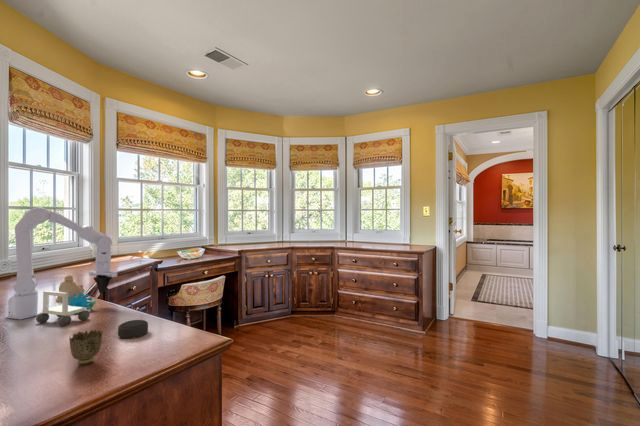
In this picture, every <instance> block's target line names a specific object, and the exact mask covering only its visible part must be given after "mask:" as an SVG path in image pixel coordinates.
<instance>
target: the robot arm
mask: <svg viewBox="0 0 640 426" xmlns="http://www.w3.org/2000/svg"><path fill="white" fill-rule="evenodd" d="M47 221H48V223H57V224H59V225H61V226H64V227H66V228H67V229H69V230H71V231H74V232H76V233H77V237H79V238H81V239H82V240H84V241H86V242H88V243H91V244H93V245H94V244H95V246H96V251H95V270H89V271H88V276H95V277H93V280H94V281H95V284H96V286H97V289H98V293H101V294H102V293H106V292H107V289H108V286H109V283H110V281H111V280H112V278H116V277H118V271H117V272H116V271H113V270H112V269H111V267H112V266H111V264H112V263H111V261H112V251H111V249H112V247H111V246H112V244H113V241H112V238H111V237H110V236H108V235H107V234H105V233H104V232H102V231H101V232H100V231H98V229H97V230H96V229H94V226H92V225H90V226H89V225H80V224H78V223H77V222H75V221H73V220H71V219H70V218H67V217H65V216H64V215H63V214H60V213H58V212H56V211H52V210H50V209H47V208H46V207H42V206H36V207H33V208H31V209H29V210H27V211H26V212H25V213H24V214H23V216H22V217H21V218H20V219H19V221H18V222H17V223H16V224H15V226H14V234H15V253H16V267H17V268H16V270H17V271H16V281H15V282H16V283H15V284H14V285H13V290H14V293H13V294H12V295H11V296H9V298H8V300H7V315H5V316H4V318H5V319H6V318H7V319H15V320H25V319H29V318H32V317H37V315H38V314H40V313H42V312H40V311H38V302H39V301H38V298H39V296H38V295H39V294H38V290H36V287H37V285H38V279H37V278H36V276H35V273H34V267H33V266H34V265H33V251H32V250H33V248H32V247H33V246H32V245H33V244H32V232H31V231H32V230H34V228H36V227H37V226H38V225H40V224H42V223H44V222H47Z"/></svg>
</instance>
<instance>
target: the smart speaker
mask: <svg viewBox="0 0 640 426" xmlns="http://www.w3.org/2000/svg"><path fill="white" fill-rule="evenodd" d="M148 330H149V322H148V321H147V320H144V319H134V320H128V321H125V322H122V323H120V324H119V325H118V326H117V336H118V337H119V338H121V339H124V340H125V339H127V340H128V339H135V338H139V337H142V336H144V335H145V334H147V333H148V332H149V331H148Z"/></svg>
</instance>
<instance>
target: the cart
mask: <svg viewBox="0 0 640 426" xmlns="http://www.w3.org/2000/svg"><path fill="white" fill-rule="evenodd" d="M50 296H54V297H58V296H62V303H61V304H60V305H57V306H52V307H49V306H50V305H49V303H50ZM68 303H69V302H68V293H65V292H59V291H54V290H43V292H42V312H41V313H40V314H38V315H37V316H35V321H36V322H37V323H41V324H44V323H46V322H48V321H49V319H50V315H55V316H56V317H57V318H59V319H58V325H59V326H62V327H67V326H69V325H70V324H71V322H72V317H71V316H70V315H75V314H74V313H77V318H78V320H79V321H86V320H88V319H89V317H90V315H91V314H90V310H87V309H86V310H85V307H75V306H69V305H68Z"/></svg>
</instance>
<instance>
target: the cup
mask: <svg viewBox="0 0 640 426" xmlns="http://www.w3.org/2000/svg"><path fill="white" fill-rule="evenodd" d="M103 333H104V332H103V330H100V329H98V330H96V329H94V330H93V329H91V330H90V331H89V332H88V331H87V330H85V331H84V332H82V331H78V332H77V333H74V334H72V337H71V336H69V337H68V340H69V347H70V353H71V356H72V357H73V359H75V360H77V364H78V365H79V366H87V365H90V364H92V363H93V362H94V360H95V356H96V355H98V353H99V352H100V349H101V346H102V338H103Z"/></svg>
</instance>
